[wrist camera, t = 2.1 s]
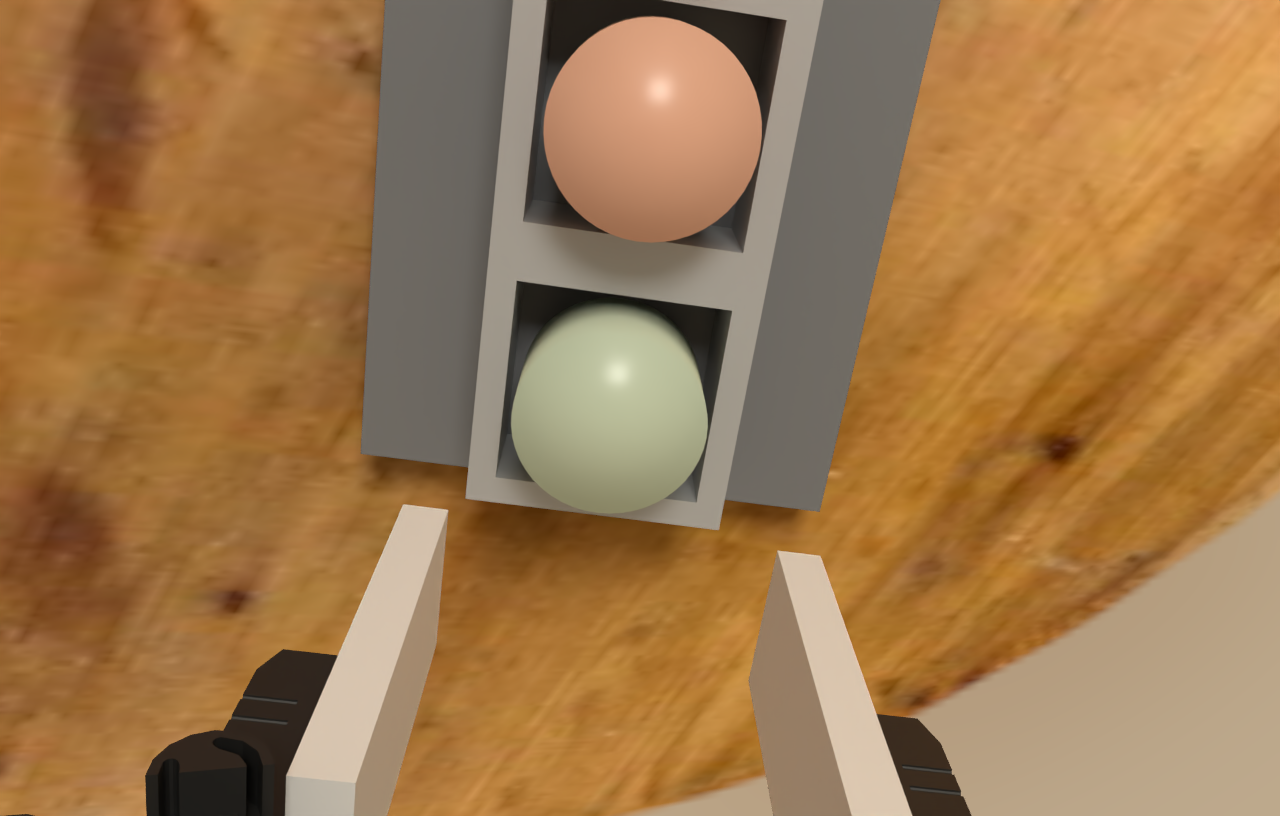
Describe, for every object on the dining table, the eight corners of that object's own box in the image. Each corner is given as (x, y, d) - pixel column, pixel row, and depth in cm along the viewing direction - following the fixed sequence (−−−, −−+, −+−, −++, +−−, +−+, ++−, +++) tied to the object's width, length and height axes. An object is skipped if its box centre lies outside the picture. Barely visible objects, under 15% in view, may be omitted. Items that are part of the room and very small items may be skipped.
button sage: (532, 285, 27) (522, 318, 24) (713, 311, 27) (723, 346, 25) (513, 452, 29) (501, 501, 26) (684, 474, 29) (690, 524, 26)
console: (425, -412, 25) (379, -507, 20) (990, -309, 26) (1070, -376, 21) (375, 427, 33) (334, 499, 28) (808, 483, 34) (838, 560, 29)
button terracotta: (564, 0, 25) (556, 1, 22) (763, 32, 25) (781, 36, 22) (541, 202, 26) (532, 226, 24) (728, 229, 27) (740, 256, 24)
